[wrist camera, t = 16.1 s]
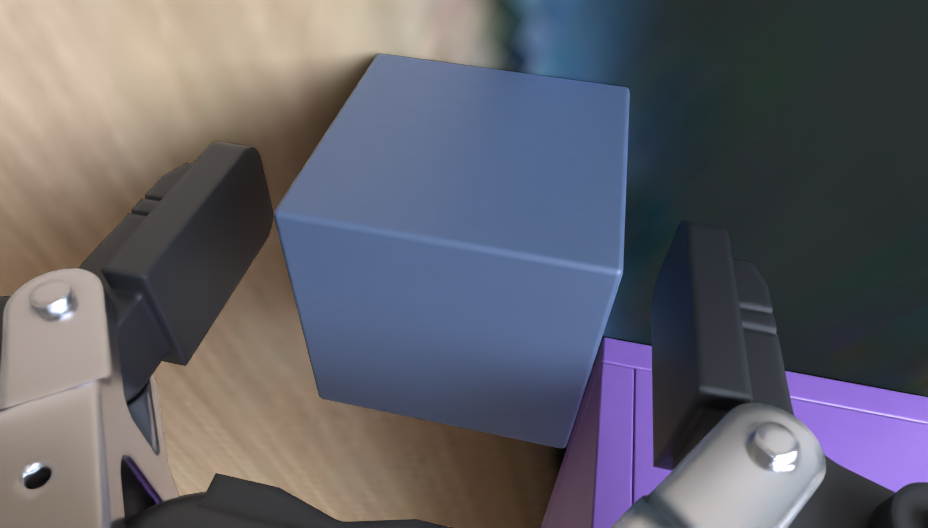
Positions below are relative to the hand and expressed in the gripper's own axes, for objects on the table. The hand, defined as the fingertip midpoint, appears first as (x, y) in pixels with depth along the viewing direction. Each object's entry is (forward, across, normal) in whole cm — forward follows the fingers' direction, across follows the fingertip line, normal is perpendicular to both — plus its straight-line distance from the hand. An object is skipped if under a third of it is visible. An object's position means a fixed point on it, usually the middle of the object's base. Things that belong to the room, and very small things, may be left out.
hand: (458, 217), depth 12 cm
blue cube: (+1, 0, 0) cm, 1 cm away
